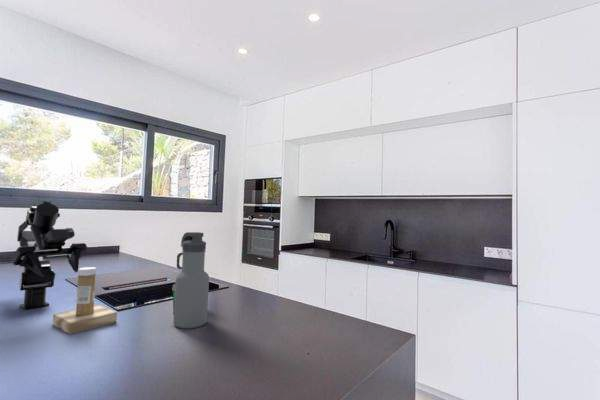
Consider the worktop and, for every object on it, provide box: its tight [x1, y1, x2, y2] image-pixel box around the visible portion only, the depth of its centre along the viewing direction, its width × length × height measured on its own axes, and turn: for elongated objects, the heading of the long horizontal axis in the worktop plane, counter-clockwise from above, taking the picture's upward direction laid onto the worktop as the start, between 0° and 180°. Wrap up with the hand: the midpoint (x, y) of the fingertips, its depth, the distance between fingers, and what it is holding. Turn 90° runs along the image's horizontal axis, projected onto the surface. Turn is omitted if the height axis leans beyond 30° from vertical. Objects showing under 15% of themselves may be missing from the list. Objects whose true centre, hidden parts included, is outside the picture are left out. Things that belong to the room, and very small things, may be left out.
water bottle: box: [173, 231, 210, 330], centre depth 96 cm, size 10×10×28 cm
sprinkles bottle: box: [75, 266, 97, 315], centre depth 93 cm, size 5×5×13 cm
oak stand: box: [52, 304, 118, 335], centre depth 92 cm, size 12×12×3 cm
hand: (60, 273), depth 97 cm, fingers open, 9 cm apart
